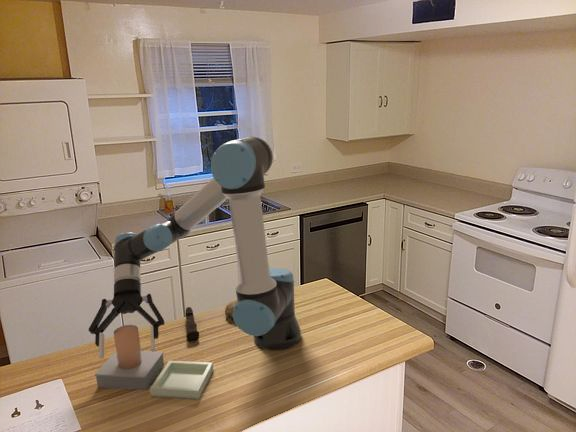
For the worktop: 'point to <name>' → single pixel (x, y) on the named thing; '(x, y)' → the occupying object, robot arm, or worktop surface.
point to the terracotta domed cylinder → (128, 346)
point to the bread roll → (230, 310)
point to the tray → (182, 380)
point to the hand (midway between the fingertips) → (127, 354)
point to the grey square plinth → (130, 372)
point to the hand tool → (191, 326)
